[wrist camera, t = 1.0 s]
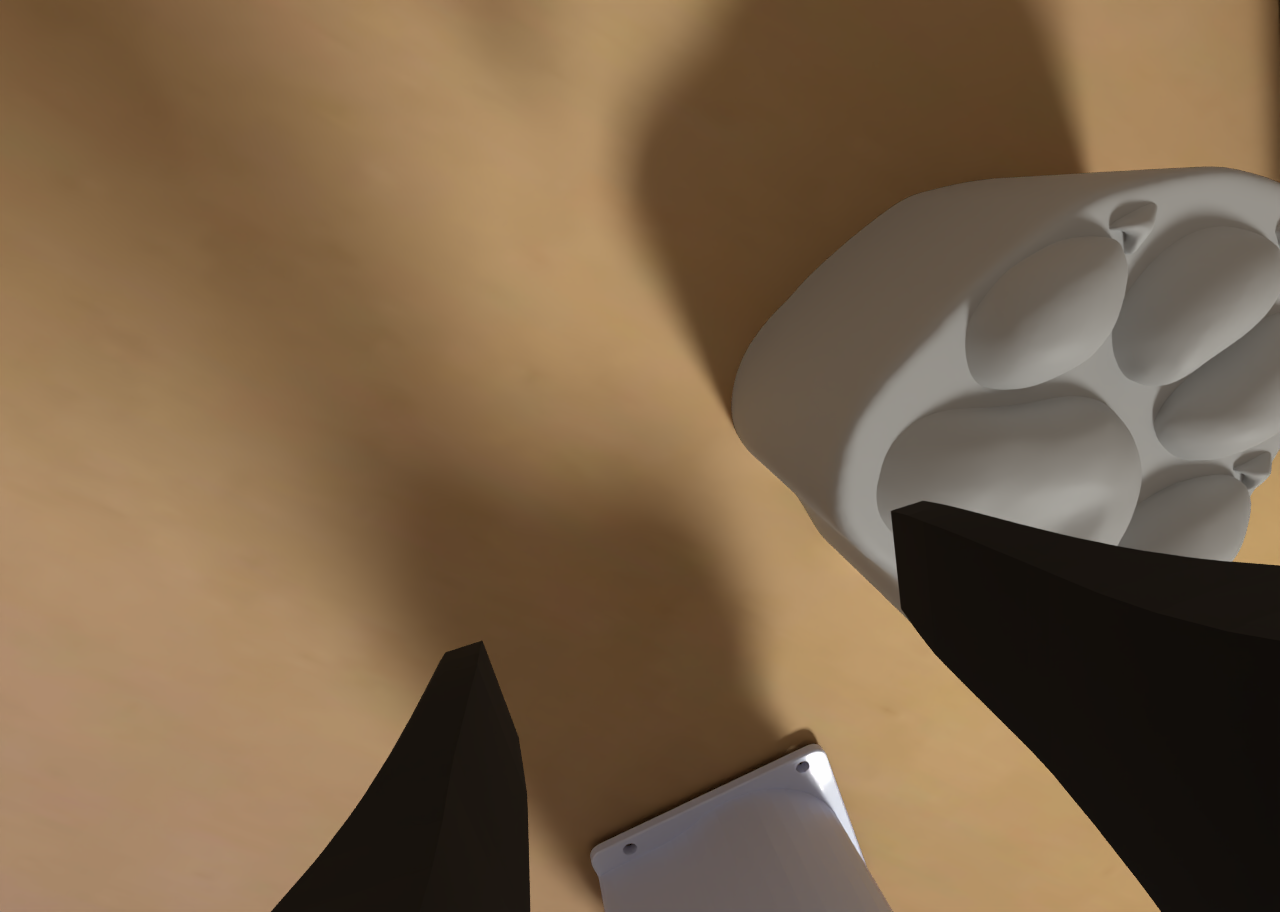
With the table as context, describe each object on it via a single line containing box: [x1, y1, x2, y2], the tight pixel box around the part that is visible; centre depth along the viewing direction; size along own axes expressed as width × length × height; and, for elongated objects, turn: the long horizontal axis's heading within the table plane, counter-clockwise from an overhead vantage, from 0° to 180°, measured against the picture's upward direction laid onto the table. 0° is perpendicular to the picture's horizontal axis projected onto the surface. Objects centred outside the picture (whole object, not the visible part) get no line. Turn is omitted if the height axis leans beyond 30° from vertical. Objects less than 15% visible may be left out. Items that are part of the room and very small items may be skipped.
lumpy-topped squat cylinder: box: [732, 167, 1280, 620], centre depth 20 cm, size 10×13×9 cm
